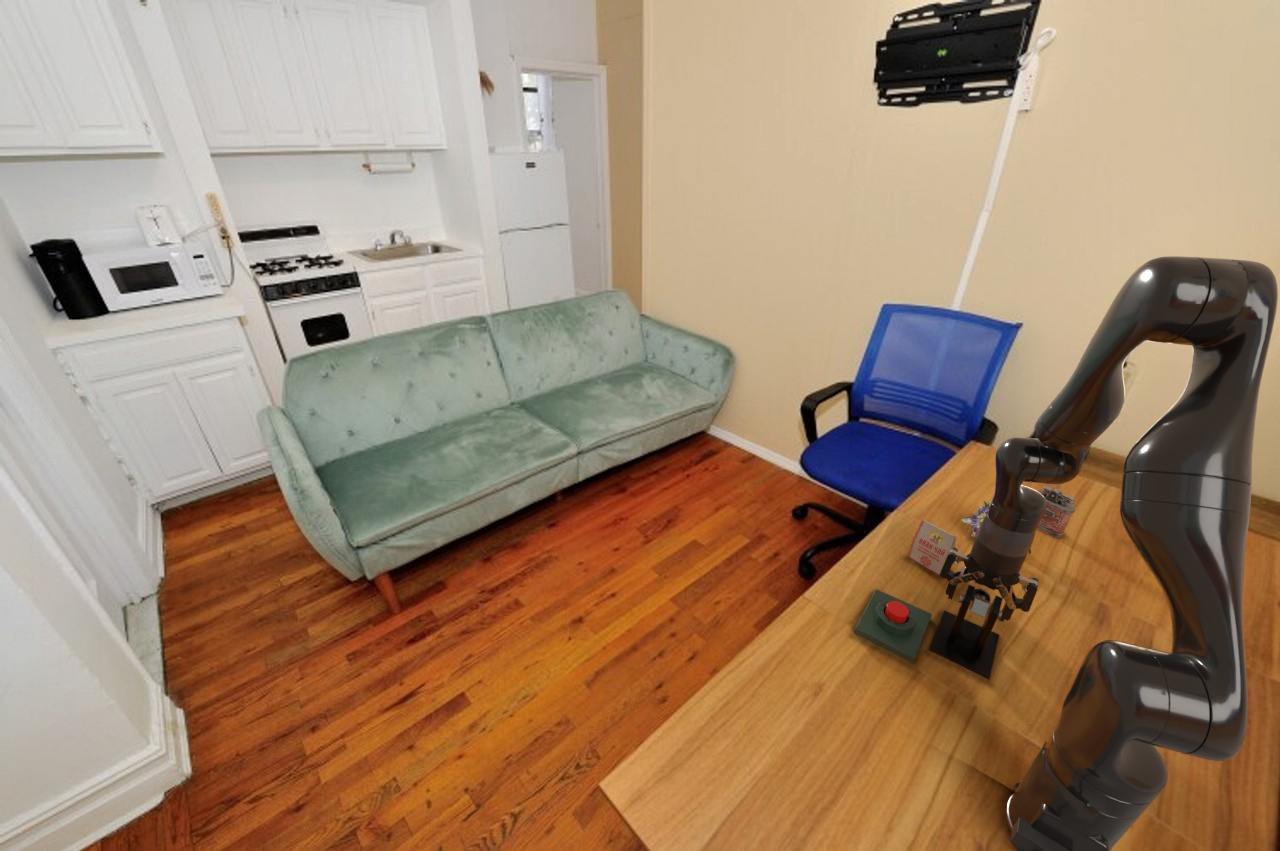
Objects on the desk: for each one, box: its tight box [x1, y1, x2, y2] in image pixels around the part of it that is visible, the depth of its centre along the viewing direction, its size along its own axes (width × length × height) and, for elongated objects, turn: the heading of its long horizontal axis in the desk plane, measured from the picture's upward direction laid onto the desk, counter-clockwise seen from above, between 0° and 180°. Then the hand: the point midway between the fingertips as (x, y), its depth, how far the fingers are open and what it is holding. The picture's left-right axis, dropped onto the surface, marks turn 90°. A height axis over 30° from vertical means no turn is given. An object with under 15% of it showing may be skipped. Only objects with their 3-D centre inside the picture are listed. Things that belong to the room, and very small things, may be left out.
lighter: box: [1037, 485, 1076, 538], centre depth 115 cm, size 8×3×10 cm, turn 25°
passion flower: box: [960, 500, 1037, 555], centre depth 112 cm, size 11×11×12 cm
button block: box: [853, 588, 932, 664], centre depth 92 cm, size 12×10×4 cm
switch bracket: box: [929, 584, 1004, 680], centre depth 87 cm, size 11×9×12 cm
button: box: [885, 601, 909, 623], centre depth 91 cm, size 4×4×2 cm
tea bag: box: [907, 519, 957, 576], centre depth 105 cm, size 4×7×10 cm, turn 35°
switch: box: [969, 587, 991, 619], centre depth 89 cm, size 13×3×3 cm, turn 141°
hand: (975, 607), depth 95 cm, fingers open, 8 cm apart
